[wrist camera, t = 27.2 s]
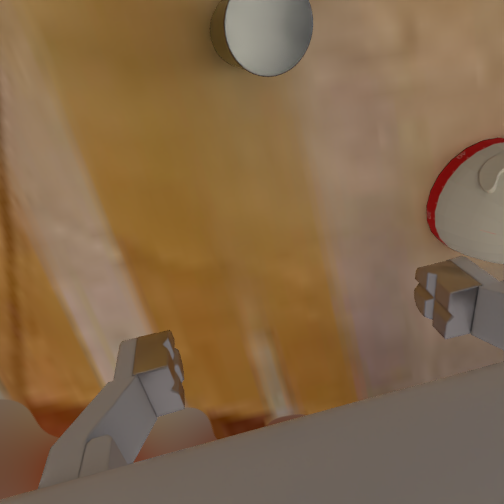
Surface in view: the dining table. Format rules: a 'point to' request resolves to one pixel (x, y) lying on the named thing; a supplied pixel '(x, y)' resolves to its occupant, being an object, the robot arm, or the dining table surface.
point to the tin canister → (262, 34)
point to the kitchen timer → (471, 202)
